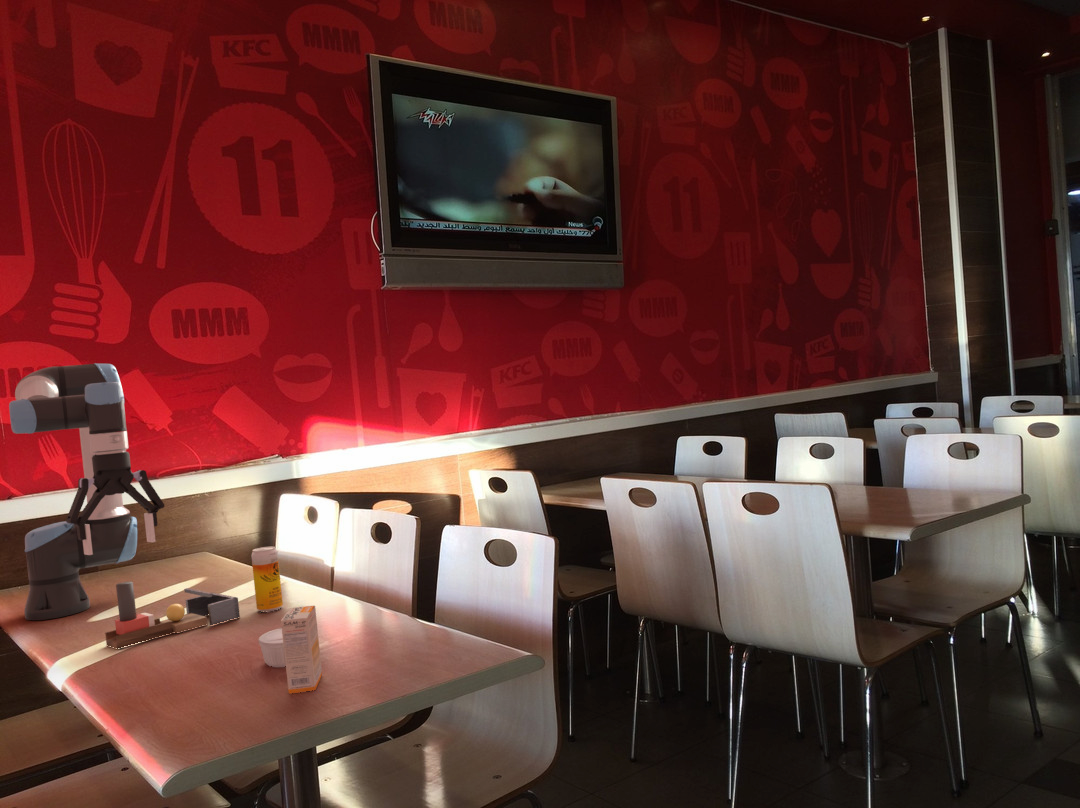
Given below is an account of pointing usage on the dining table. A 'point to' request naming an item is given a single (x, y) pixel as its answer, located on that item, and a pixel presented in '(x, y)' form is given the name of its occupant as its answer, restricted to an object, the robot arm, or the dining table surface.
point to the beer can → (267, 579)
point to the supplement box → (301, 649)
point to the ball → (175, 612)
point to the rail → (138, 634)
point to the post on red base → (130, 611)
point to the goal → (212, 606)
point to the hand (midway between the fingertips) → (120, 548)
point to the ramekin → (273, 648)
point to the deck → (187, 622)
